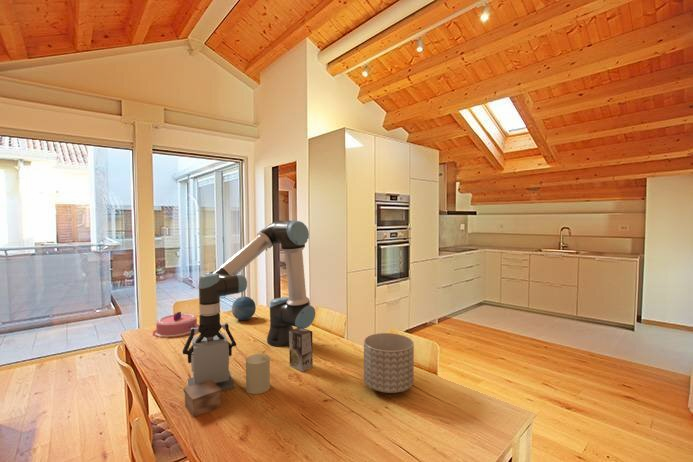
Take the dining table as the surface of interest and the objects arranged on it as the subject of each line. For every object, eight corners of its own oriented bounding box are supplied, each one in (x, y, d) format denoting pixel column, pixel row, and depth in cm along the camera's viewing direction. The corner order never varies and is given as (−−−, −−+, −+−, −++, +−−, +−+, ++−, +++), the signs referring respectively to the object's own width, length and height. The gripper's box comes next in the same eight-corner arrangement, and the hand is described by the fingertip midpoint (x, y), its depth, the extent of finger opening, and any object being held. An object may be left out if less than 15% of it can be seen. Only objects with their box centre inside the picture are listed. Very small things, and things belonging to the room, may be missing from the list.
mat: (229, 371, 143) (229, 370, 143) (234, 387, 129) (234, 387, 129) (187, 379, 136) (187, 378, 136) (189, 398, 121) (189, 397, 121)
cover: (224, 367, 140) (224, 329, 140) (228, 380, 129) (228, 338, 129) (192, 373, 135) (192, 333, 134) (194, 387, 124) (193, 343, 123)
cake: (188, 338, 183) (187, 319, 182) (142, 338, 183) (142, 319, 182) (207, 324, 208) (207, 307, 207) (167, 324, 208) (167, 307, 207)
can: (263, 395, 123) (263, 363, 123) (241, 392, 125) (240, 361, 125) (274, 383, 132) (273, 353, 132) (252, 381, 134) (252, 351, 134)
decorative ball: (227, 322, 209) (226, 299, 209) (238, 315, 224) (238, 293, 224) (249, 323, 207) (249, 300, 206) (259, 316, 222) (259, 294, 221)
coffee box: (313, 367, 146) (313, 331, 146) (301, 372, 142) (301, 334, 141) (300, 361, 153) (299, 326, 152) (288, 365, 148) (288, 330, 147)
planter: (381, 406, 116) (381, 355, 115) (355, 382, 133) (355, 337, 132) (423, 393, 125) (424, 345, 124) (394, 372, 142) (394, 330, 141)
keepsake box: (211, 395, 123) (211, 379, 123) (221, 406, 116) (221, 389, 115) (183, 405, 116) (183, 388, 116) (192, 417, 109) (192, 399, 109)
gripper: (240, 307, 140) (240, 357, 141) (174, 314, 129) (175, 369, 130) (243, 311, 133) (243, 364, 134) (174, 320, 122) (175, 377, 123)
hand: (210, 367), depth 132 cm, fingers closed on cover, 12 cm apart
